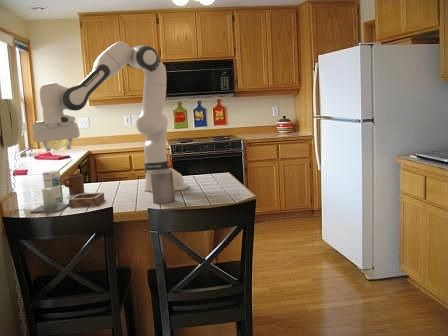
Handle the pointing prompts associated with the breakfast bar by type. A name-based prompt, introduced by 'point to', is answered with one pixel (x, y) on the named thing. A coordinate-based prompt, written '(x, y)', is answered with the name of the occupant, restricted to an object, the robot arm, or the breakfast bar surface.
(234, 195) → the breakfast bar surface
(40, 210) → the charcoal mat
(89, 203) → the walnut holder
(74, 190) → the mug
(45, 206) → the jug
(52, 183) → the syrup box
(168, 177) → the pillar candle
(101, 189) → the breakfast bar surface
